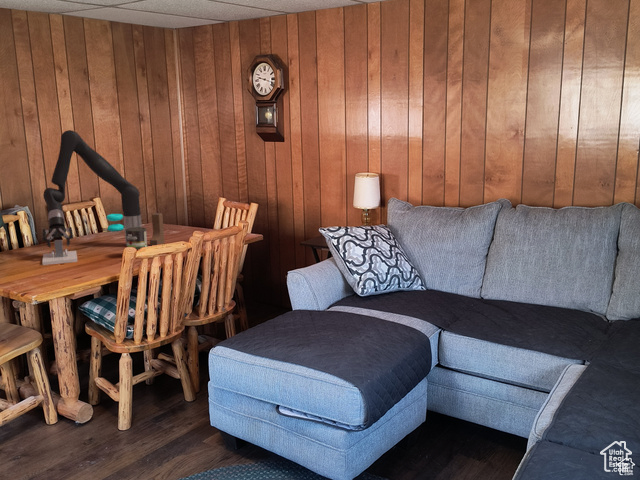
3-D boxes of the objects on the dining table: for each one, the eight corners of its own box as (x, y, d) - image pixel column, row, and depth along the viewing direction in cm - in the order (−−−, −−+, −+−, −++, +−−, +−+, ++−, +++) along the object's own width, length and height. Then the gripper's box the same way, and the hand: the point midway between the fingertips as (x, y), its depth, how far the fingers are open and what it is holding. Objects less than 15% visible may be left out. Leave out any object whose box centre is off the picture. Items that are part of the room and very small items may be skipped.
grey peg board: (43, 256, 314) (42, 248, 313) (76, 253, 320) (75, 245, 319) (42, 265, 296) (41, 256, 295) (77, 261, 302) (76, 252, 301)
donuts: (103, 214, 381) (117, 212, 388) (104, 230, 383) (119, 228, 390) (111, 216, 374) (125, 214, 381) (112, 232, 376) (127, 229, 384)
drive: (56, 255, 309) (54, 240, 308) (63, 254, 311) (62, 239, 309) (56, 257, 305) (54, 242, 303) (63, 256, 306) (62, 241, 305)
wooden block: (157, 248, 330) (155, 215, 327) (150, 247, 331) (147, 215, 327) (164, 244, 339) (162, 213, 335) (157, 244, 340) (155, 213, 336)
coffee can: (139, 258, 307) (137, 231, 305) (123, 256, 311) (121, 230, 308) (152, 253, 317) (150, 227, 314) (136, 252, 321) (134, 226, 318)
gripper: (40, 217, 308) (42, 243, 300) (70, 214, 313) (73, 240, 305) (42, 225, 313) (44, 251, 306) (71, 223, 319) (74, 248, 311)
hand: (58, 245), depth 305 cm, fingers open, 8 cm apart
